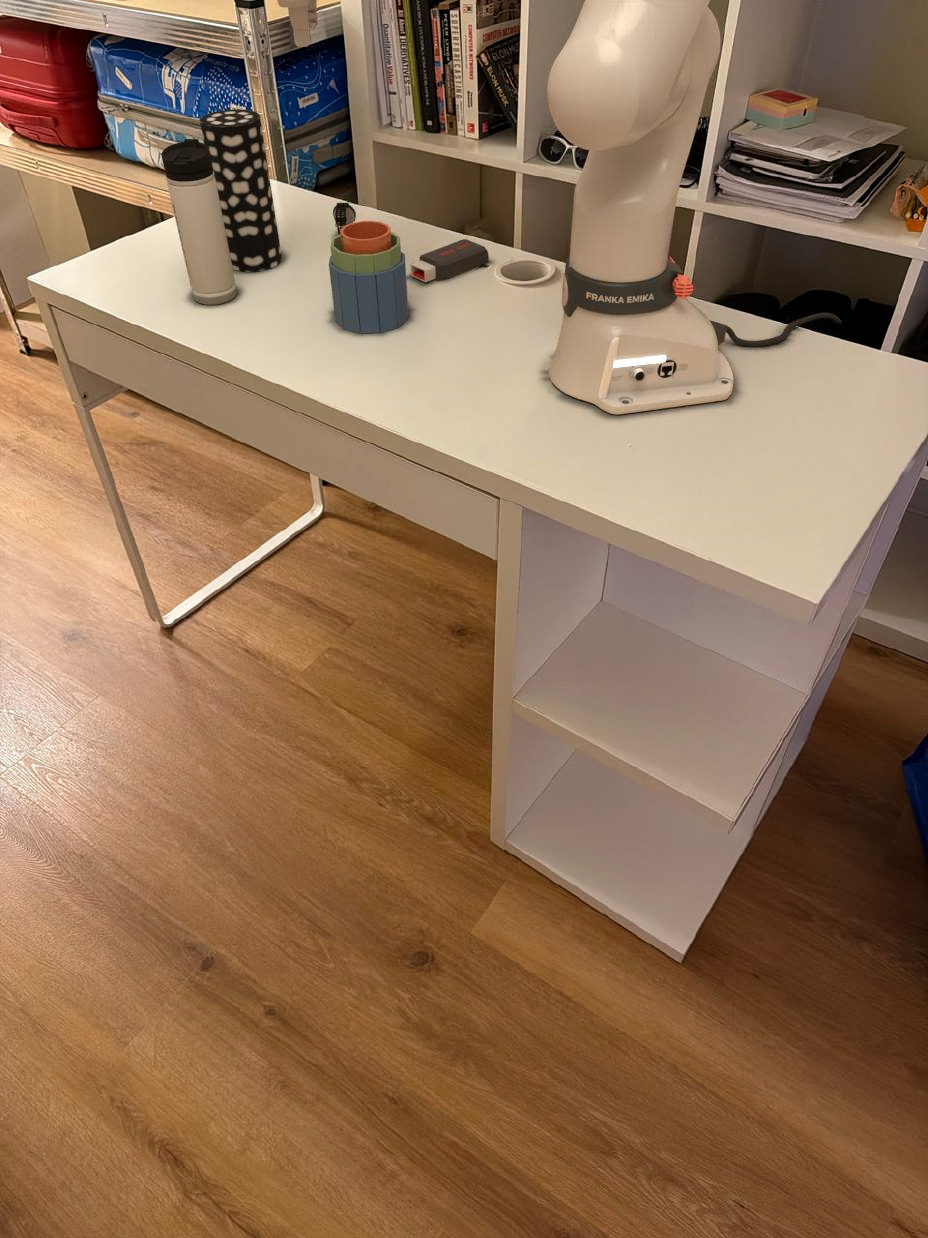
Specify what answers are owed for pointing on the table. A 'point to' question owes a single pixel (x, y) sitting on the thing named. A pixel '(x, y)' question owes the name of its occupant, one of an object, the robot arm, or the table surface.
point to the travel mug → (199, 221)
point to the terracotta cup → (366, 237)
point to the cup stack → (369, 288)
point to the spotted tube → (243, 187)
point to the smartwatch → (343, 215)
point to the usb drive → (449, 261)
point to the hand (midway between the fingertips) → (307, 35)
